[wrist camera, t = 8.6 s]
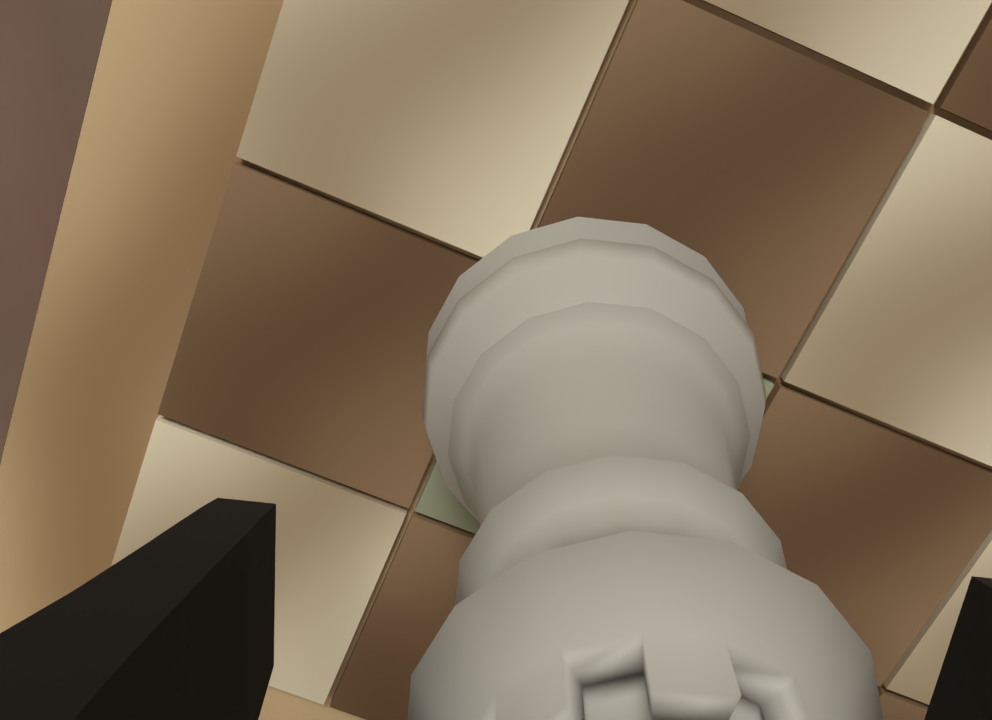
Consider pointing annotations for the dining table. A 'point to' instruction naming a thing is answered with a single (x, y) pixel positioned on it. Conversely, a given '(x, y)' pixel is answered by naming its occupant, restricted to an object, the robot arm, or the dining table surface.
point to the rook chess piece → (615, 498)
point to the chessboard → (467, 239)
